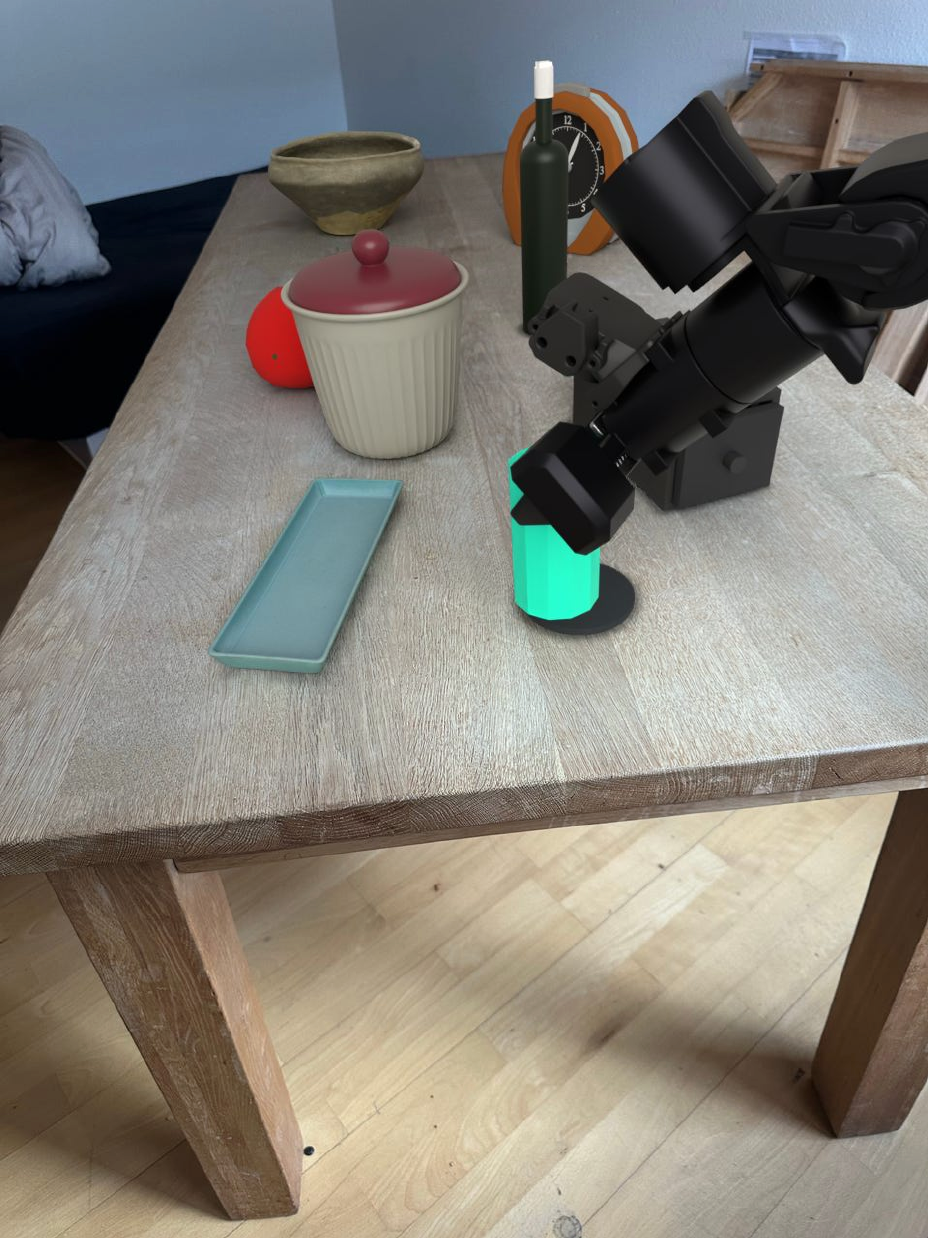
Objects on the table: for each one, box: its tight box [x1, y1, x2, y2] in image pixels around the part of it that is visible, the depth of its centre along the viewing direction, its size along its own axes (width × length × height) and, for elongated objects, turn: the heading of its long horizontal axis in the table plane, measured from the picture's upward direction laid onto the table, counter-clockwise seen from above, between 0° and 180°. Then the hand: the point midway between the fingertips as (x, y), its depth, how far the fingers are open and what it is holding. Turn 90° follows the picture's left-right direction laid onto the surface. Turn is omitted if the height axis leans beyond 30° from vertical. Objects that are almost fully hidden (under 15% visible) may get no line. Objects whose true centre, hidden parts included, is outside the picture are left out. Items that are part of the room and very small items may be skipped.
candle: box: [507, 445, 601, 620], centre depth 56 cm, size 6×6×12 cm
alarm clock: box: [501, 81, 640, 256], centre depth 135 cm, size 22×10×23 cm, turn 53°
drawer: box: [672, 402, 785, 510], centre depth 80 cm, size 20×9×8 cm, turn 19°
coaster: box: [526, 563, 636, 636], centre depth 68 cm, size 9×9×1 cm
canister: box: [281, 229, 470, 460], centre depth 85 cm, size 18×18×21 cm
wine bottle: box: [520, 59, 569, 336], centre depth 103 cm, size 6×6×30 cm
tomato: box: [245, 285, 315, 389], centre depth 101 cm, size 13×13×13 cm
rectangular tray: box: [207, 477, 405, 674], centre depth 72 cm, size 26×9×2 cm, turn 170°
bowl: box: [267, 130, 425, 236], centre depth 153 cm, size 28×28×14 cm
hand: (536, 496), depth 55 cm, fingers closed on candle, 5 cm apart
